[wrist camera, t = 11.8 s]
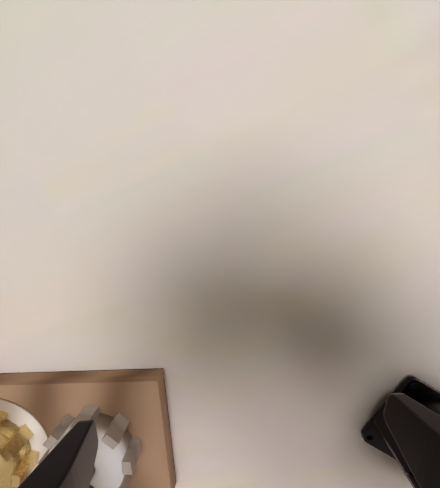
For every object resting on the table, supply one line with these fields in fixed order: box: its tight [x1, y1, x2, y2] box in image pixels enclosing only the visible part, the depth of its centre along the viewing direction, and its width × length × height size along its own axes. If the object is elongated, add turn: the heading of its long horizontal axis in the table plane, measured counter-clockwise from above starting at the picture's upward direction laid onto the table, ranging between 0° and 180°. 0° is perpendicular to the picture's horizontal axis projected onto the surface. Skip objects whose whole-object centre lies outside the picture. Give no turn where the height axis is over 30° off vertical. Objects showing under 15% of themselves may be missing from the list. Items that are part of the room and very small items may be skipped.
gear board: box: [0, 369, 176, 488], centre depth 20 cm, size 20×11×6 cm, turn 94°
